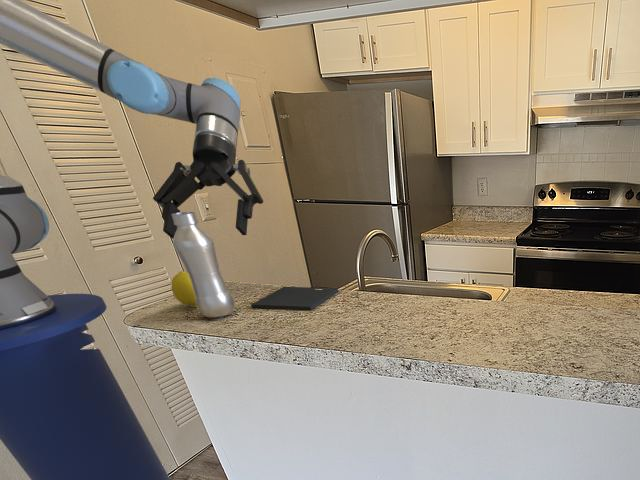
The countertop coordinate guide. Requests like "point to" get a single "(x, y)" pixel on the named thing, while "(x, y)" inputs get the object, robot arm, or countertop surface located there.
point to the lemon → (183, 289)
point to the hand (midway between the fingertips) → (205, 233)
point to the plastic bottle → (201, 266)
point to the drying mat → (295, 298)
